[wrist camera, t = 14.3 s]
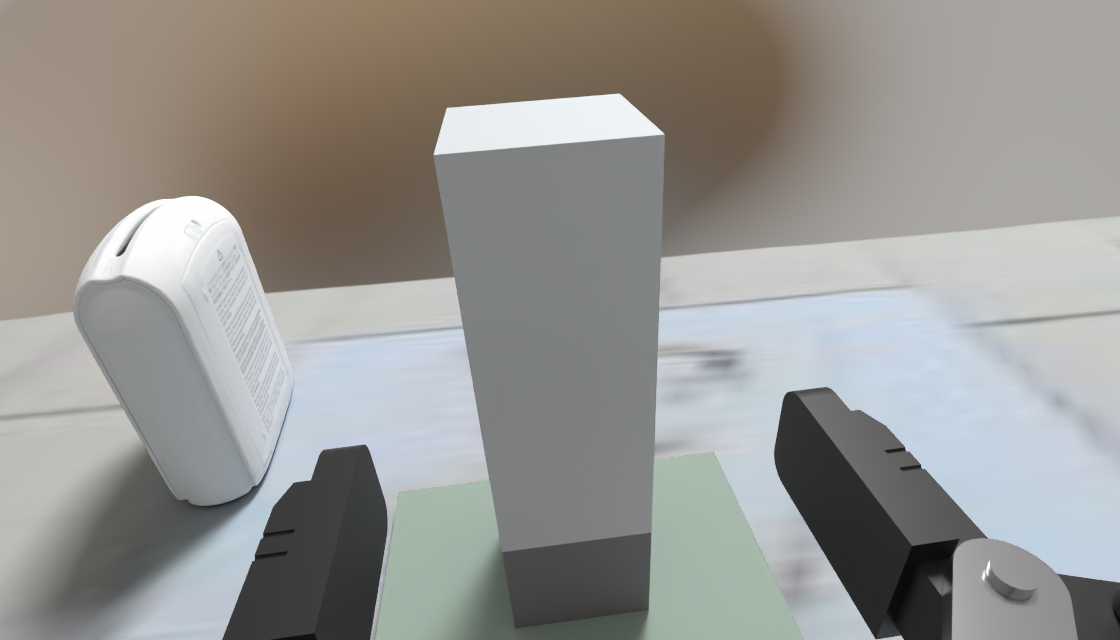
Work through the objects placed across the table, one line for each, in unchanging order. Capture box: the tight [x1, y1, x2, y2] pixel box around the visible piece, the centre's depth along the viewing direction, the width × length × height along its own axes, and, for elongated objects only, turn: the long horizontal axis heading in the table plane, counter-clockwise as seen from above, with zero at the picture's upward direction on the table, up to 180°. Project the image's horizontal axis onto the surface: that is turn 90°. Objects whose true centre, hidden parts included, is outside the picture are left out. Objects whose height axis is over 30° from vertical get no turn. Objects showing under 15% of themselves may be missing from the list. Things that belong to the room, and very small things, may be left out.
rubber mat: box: [375, 452, 804, 640], centre depth 22 cm, size 14×9×1 cm, turn 97°
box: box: [434, 94, 665, 629], centre depth 18 cm, size 5×5×16 cm
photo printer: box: [73, 196, 294, 506], centre depth 27 cm, size 10×4×12 cm, turn 12°
